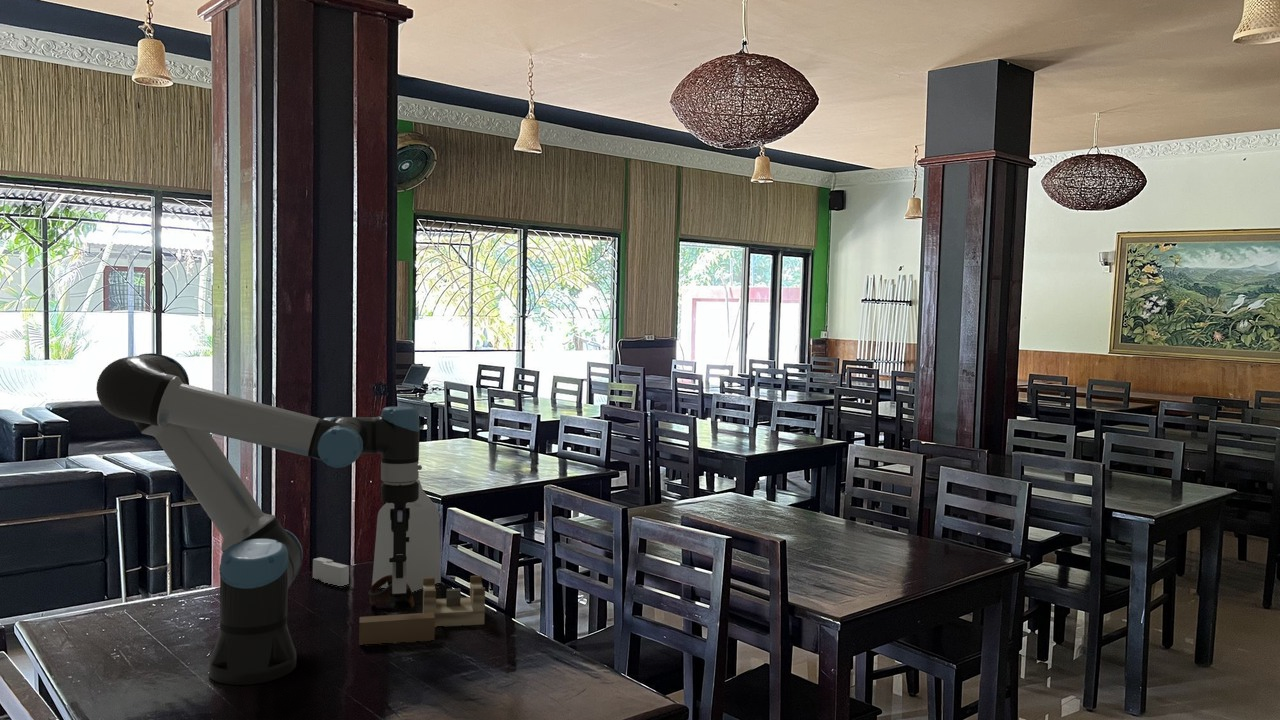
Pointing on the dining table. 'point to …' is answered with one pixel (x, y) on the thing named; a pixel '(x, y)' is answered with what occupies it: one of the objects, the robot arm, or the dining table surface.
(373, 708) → the dining table surface
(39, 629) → the dining table surface
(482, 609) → the display stand
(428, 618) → the brown wooden block
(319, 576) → the napkin holder
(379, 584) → the brown looped band sculpture
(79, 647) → the dining table surface
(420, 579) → the milk
